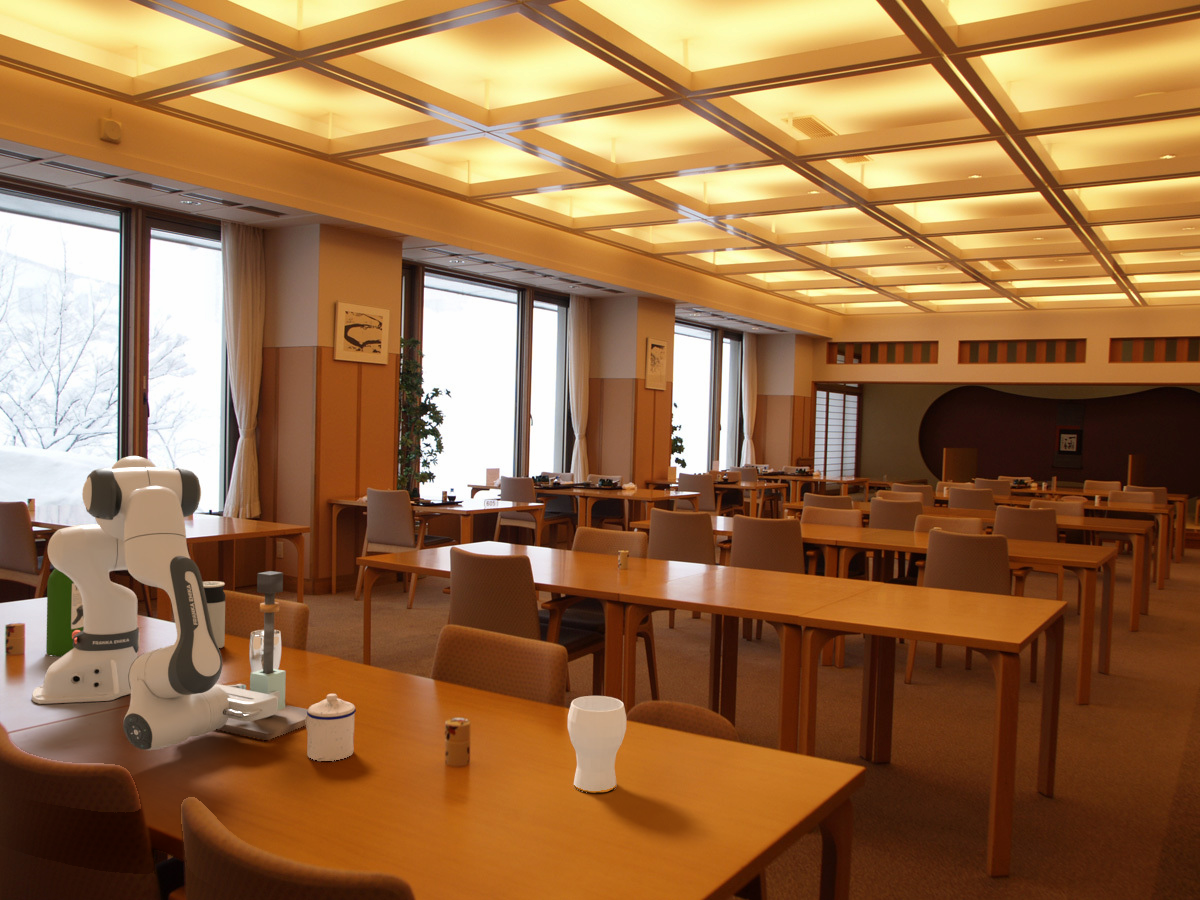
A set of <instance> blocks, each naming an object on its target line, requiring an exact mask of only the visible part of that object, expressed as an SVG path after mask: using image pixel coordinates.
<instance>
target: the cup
mask: <svg viewBox="0 0 1200 900" xmlns="http://www.w3.org/2000/svg"><path fill="white" fill-rule="evenodd" d="M569 706H570V707H569V710H568V714H567V731H568V735H569V739H570V743H571V744H572V746H573V748H574V751H575V757H576V769H575V774H574V779H573V786H574V785H575V786H576V787H578V788H581V789H583V790H588V791H601V790H607V789H610V788H613V787H614V786H615V785H616V786H617V777H616V771H615V770H616V769H615V768H616V767H615V764H616V758H617V753H618V751H619V749H620V747H621V745H622V744H623V741H624V737H625V734H626V731H627V714H626V709H625V705H624V702H623V701H621V700H620V699H618V698H615V697H612V696H606V695H605V696H604V695H588V696H587V695H586V696H579V697H577V698H574V699H572V701H571V703H570V705H569Z"/></svg>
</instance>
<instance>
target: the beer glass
mask: <svg viewBox="0 0 1200 900" xmlns="http://www.w3.org/2000/svg"><path fill="white" fill-rule="evenodd" d="M281 632H282V631H281V630H278V629H274V657H273V669H278V670H280V669H279V668H280V664H281V657H282V636H281V635H282V634H281ZM263 655H264V629H257V630H254V631H251V632H250V639H249V654H248V656H249V665H250V672H251V673H252V672H255V671H259V670H262V669H263Z"/></svg>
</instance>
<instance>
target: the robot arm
mask: <svg viewBox="0 0 1200 900" xmlns="http://www.w3.org/2000/svg"><path fill="white" fill-rule="evenodd" d="M81 494H82V500H83V504H84V506H85V509H86V512H87V513H88V514H90V515H91V516H92V517H93V518H95V519H94V520H95V521H96V523H92V524H91V523H89V524H77V525H72V526H68V527H63V528H59V529H57V530H56V531H55V532H54V533H53V534H52V536H51V537H50V539H49V540H48V545H47V555H48V559H49V562H50V564H51V565H52V566H53V567H54V569H55V568H56V569H57V570H59V571H61V572H62V573H64V574H65V575H67V576H68V577H69V578H70V579H71V580H72V581H73V582H74V583H75V585H76V586H77V588H78V590H79V592H80V594H81V597H82V603H83V616H84V630H83V631H81V632H80V630H75V631H74V632H73V633H72V638H73V647H74V648H73V649H72V650H70V651H69V652H68V653H66V654H65V655H64V656H60V657H58V659H57V660H56V661H53V663H52V664H51V665H49V667H48V668H47V670H46V673H45V675H44V679H43V684H40V685H39V686H37V687H35V688H34V689H33V692H32V693H31V695H32V696H31V700H32V702H34V703H35V704H39V705H41V704H42V705H45V704H48V705H49V704H62V703H65V704H67V703H68V704H69V703H84V702H85V703H87V702H88V703H89V702H105V701H107V702H109V701H113V700H115V699H119V698H121V697H123V696H127V695H130V702H129V707H128V710H127V712H126V714H125V716H124V718H123V722H122V726H123V728H122V729H123V732H124V735H125V737H126V739H127V741H128V742H129V743H130V744H131V745H132V746H134V747H135V748H137V749H138V750H142V751H155V750H161V749H165V748H167V747H170V746H174V745H177V744H180V743H182V742H185V741H186V740H188V738H190V737H199V736H202V735H205V734H208V733H211V732H214V731H216V729H219V728H221V727H223V726H224V725H225V724H226V722H227V720H228V718H232V719H237V720H241V721H254V720H259V719H262V718H266V717H269V716H272V715H275V714H276V713H277V709H278V700H279V698H280V692H279V691H274V690H273V691H270V692H268V694H265V693H260V692H255V691H250V689H247V685H246V684H243V683H238V684H230V685H225V684H220V683H217V682H218V681H219V679H220V677H221V674H222V671H223V657H222V653H221V650H220V649H219V648H218V645H217V643H216V640H215V638H214V635H213V631H212V626H211V621H210V616H209V611H208V606H207V601H206V596H205V591H204V586H203V582H204V581H203V579H202V574H201V572H200V569H199V567H198V564H197V563H196V562H195V561H194V560H193V559H191V556H190V554H189V550H188V544H187V534H186V524H185V518H186V517H190V516H192V515H193V514H194V513H195V512H196V511H197V510H198V508H199V504H200V502H201V497H202V489H201V485H200V480H199V477H198V476H197V475H196V474H195V473H194V472H193V471H190V470H188V469H184V468H179V467H177V468H169V467H167V468H166V467H158V466H157V467H156V465H155V464H154V463H153V462H152V461H151V460H149V459H148V458H146V457H142V456H138V455H129V456H125V457H122V458H120V459H119V460H117V461H116V462H115V463H114V464H113V466H112V467H103V468H98V469H94V470H92V471H91V472H90V473H88V475H87V477H86V480H85V483H84V484H83V487H82V493H81ZM113 571H114V572H115V571H128V573H129V574H130V576H132V578H133V579H135V580H137V581H138V582H139V583H141V584H142V585H143V584H144V585H146V586H150V587H155V588H159V589H161V590H164V591H165V593H166V594H167V595H168V596H169V599H170V602H171V605H172V607H171V608H172V613H173V619H174V623H175V629H176V639H175V642H174V644H172V645H168V646H165V647H160V648H157V649H153V650H150V651H147V652H143V653H142V654H139V655H138V653H139V649H140V636H141V635H140V629H139V627H138V598H137V595H136V593H135V592H134V591H133V590H132V589H130V588H128V587H126V586H124V585H122V584H118V583H116V582H113V581H111V578H110V573H111V572H113Z"/></svg>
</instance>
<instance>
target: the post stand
mask: <svg viewBox="0 0 1200 900" xmlns="http://www.w3.org/2000/svg"><path fill="white" fill-rule="evenodd" d="M256 575H257V577H256V579H257V580H256V582H257V583H256V592H257V593H261V594H264V602H260V603H259V612H260V613H264V615H263V617H264V618H263V622H264V624H263V625H264V627H263V630H264V655H263V673H264V674H271V673H273V657H274V630H275V613H277V612H279V611H280V602H277V601H275V600H276V597H275V596H276V594H278V593H283V591H284V590H283V588H284V585H283V584H284V572H280V571H273V570H272V571H271V570H269V571H264V572H258V573H257V574H256ZM307 711H308V709H307V708H303V707H297V706H293V705H287V704H285V708H284V709H281V710H279V711H277V713H276V714H275V715H272V716H269V717H266V718H262V719H259V720H254V721H241V720H237V719H232V718H228V720H227V722H226V724H225V725H224V726H223V727H221V728H219V729H218V730H217V731H220V730H222V731H221V732H224V731H226V732H225V733H229V732H231V733H230V734H233V733H236V734H235V735H238V734H240V735H239V736H242V735H245V736H244V737H246V736H250V737H249V738H251V737H255V738H259V739H258V740H260V739H264V740H269V741H271V740H270V739H272V738H274V739H276V738H275V737H277V736H279V737H281V736H280V735H282V736H284V735H286V733H287V734H289V733H292V732H294V731H296V730H295V729H297V730H299V729H301V727H302V728H304V727H306V726H305V717H306V715H307ZM303 726H304V727H303ZM298 728H299V729H298ZM293 730H294V731H293ZM291 731H292V732H291ZM288 732H289V733H288ZM283 734H284V735H283ZM255 738H254V739H255ZM277 738H278V737H277ZM264 740H263V741H264ZM272 740H273V739H272Z"/></svg>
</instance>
